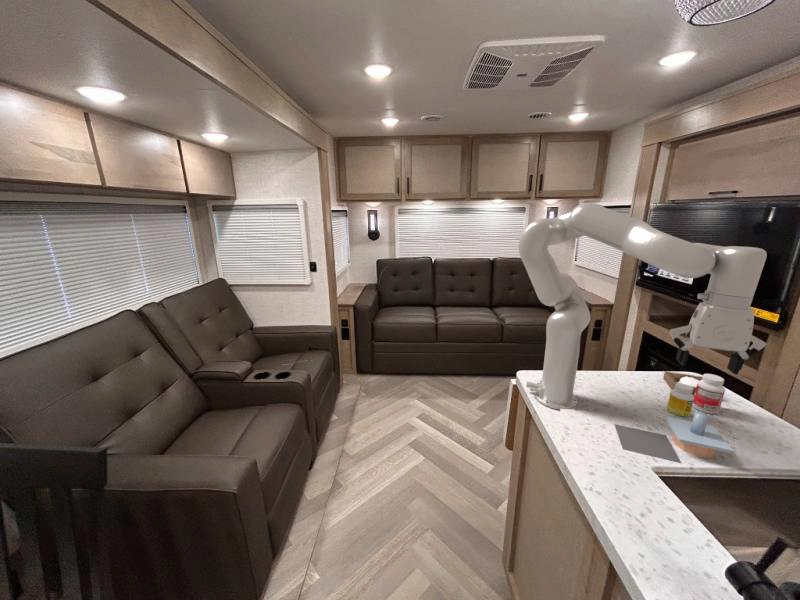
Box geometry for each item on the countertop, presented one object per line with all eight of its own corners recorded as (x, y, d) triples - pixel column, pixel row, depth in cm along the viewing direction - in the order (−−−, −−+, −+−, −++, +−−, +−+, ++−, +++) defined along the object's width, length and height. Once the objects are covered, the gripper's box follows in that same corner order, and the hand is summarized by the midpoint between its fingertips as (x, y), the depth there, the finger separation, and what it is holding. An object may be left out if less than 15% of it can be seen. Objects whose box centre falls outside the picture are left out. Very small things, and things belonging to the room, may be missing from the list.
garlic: (675, 381, 115) (677, 372, 114) (699, 386, 112) (701, 376, 111) (680, 391, 108) (682, 381, 107) (706, 397, 105) (709, 387, 104)
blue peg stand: (679, 441, 78) (684, 420, 76) (665, 418, 87) (670, 399, 85) (732, 453, 74) (739, 431, 72) (712, 427, 83) (718, 407, 81)
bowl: (679, 454, 79) (682, 440, 78) (667, 435, 87) (671, 421, 85) (720, 464, 76) (725, 449, 75) (705, 443, 83) (709, 429, 82)
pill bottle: (701, 402, 102) (709, 371, 99) (723, 413, 96) (733, 381, 93) (686, 404, 101) (694, 373, 98) (708, 415, 95) (717, 383, 92)
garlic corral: (674, 392, 107) (675, 385, 106) (663, 378, 117) (664, 371, 116) (715, 400, 103) (718, 392, 102) (700, 384, 112) (703, 376, 112)
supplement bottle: (669, 407, 99) (676, 380, 97) (691, 415, 95) (699, 387, 92) (663, 412, 96) (669, 385, 94) (685, 422, 92) (693, 393, 90)
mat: (622, 451, 81) (622, 449, 80) (613, 426, 90) (614, 424, 90) (681, 466, 76) (681, 463, 76) (665, 437, 86) (665, 435, 85)
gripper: (685, 300, 72) (667, 367, 77) (790, 310, 65) (763, 382, 70) (673, 292, 78) (657, 354, 83) (767, 301, 72) (744, 368, 76)
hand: (706, 367), depth 76 cm, fingers open, 9 cm apart
